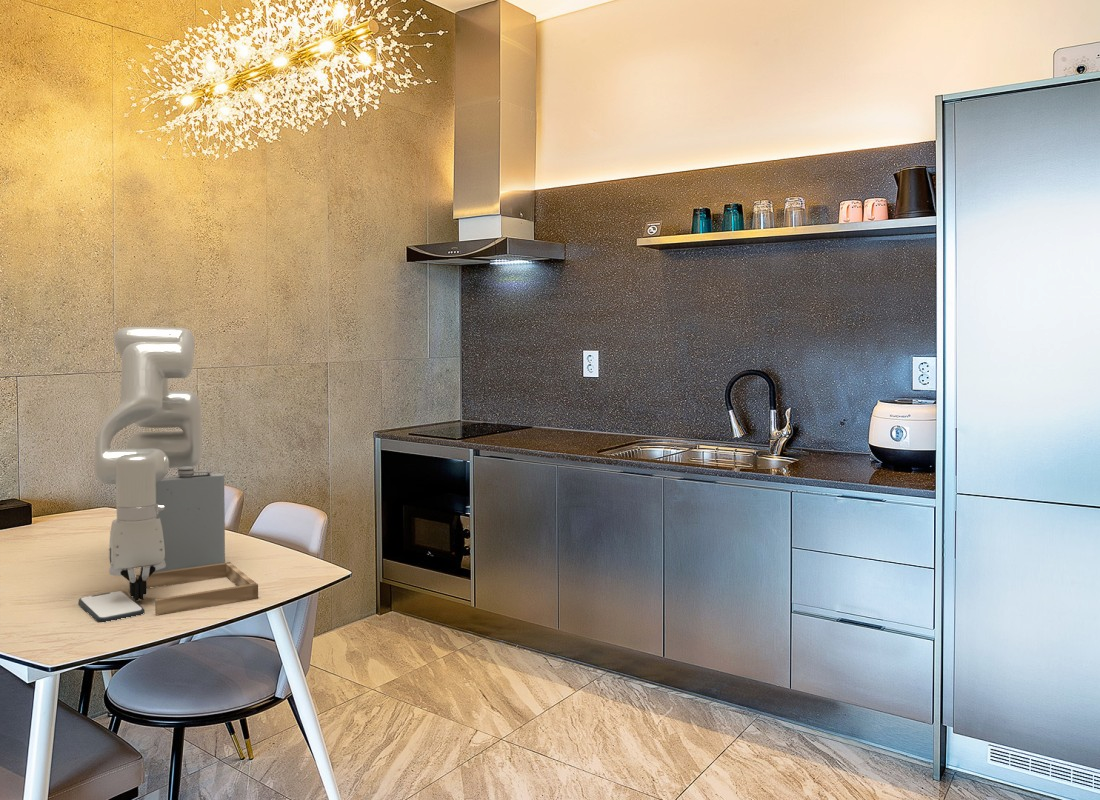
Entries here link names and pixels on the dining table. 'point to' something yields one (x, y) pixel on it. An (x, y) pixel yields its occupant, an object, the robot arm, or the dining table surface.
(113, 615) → the smartphone
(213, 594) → the wooden u-shaped frame
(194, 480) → the upright grey panel
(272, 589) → the dining table surface
